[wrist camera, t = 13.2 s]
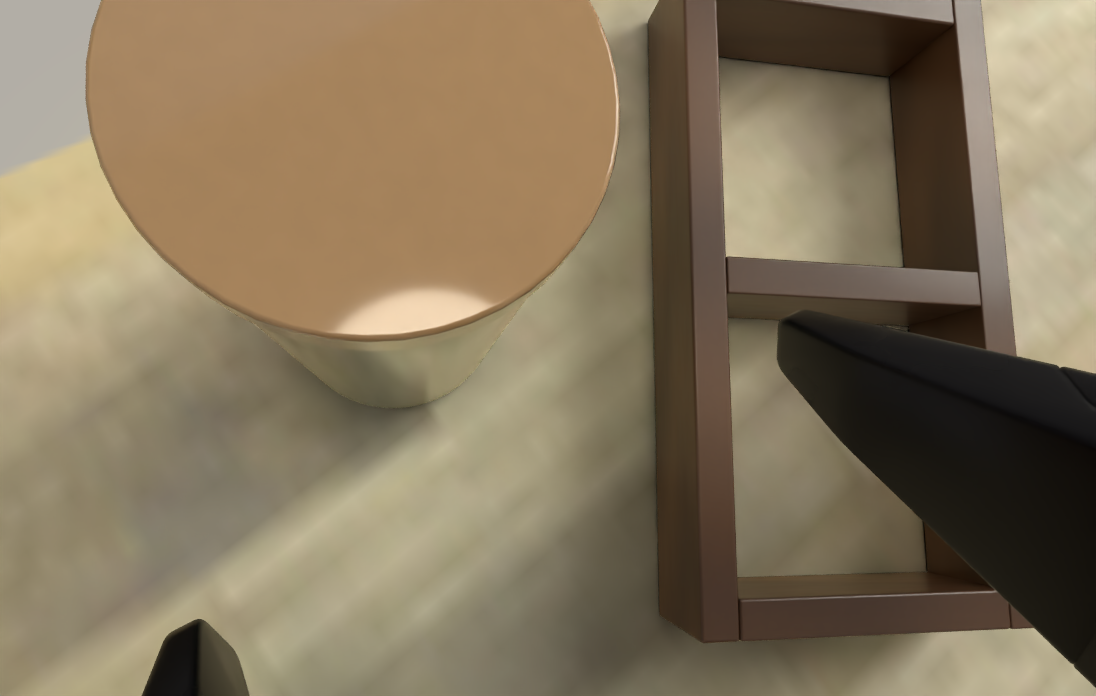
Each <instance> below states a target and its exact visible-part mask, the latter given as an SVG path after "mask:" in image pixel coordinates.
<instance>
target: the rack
mask: <svg viewBox="0 0 1096 696" xmlns="http://www.w3.org/2000/svg"><path fill="white" fill-rule="evenodd" d="M648 37H649V89H650V141H651V194H652V246H653V298H654V350H655V403H656V455H657V507H658V560H659V612H660V616H661V617H663V618H664V619H666V620H667V621H669V622H671V623H672V624H674V625H675V626H677V627H678V628H680V629H681V630H683V631H685V632H686V633H688V634H689V635H691V636H692V637H694V638H696V639H697V640H699V641H700V642H702V643H718V642H736V641H739V640H740V641H762V640H783V639H804V638H825V637H846V636H867V635H888V634H909V633H930V632H951V631H972V630H993V629H1008V628H1011V629H1020V628H1034V627H1033V626H1032V625H1031V624H1030V623H1029V622H1028V621H1027V620H1025V619H1024V618H1023V617H1022V616H1021V615H1020V614H1019V613H1018V612H1017V611H1016V610H1015V609H1014V608H1013V607H1012V606H1011V605H1010V604H1009V603H1008V602H1007V601H1006V600H1005V599H1004V598H1003V597H1002V596H1001V595H1000V594H998V593H997V592H996V591H995V590H994V589H993V588H992V587H991V586H990V585H989V584H988V583H987V582H986V581H985V580H984V579H983V578H982V577H981V576H980V575H979V574H978V573H977V572H976V571H975V570H974V569H973V568H971V567H970V566H969V565H968V564H967V563H966V562H965V561H964V560H963V559H962V558H961V557H960V556H959V555H958V554H957V553H956V552H955V551H954V550H953V549H952V548H951V547H950V546H949V545H948V544H947V543H946V542H944V541H943V540H942V539H941V538H940V537H939V536H938V535H937V534H936V533H935V532H934V531H933V530H932V529H931V528H930V527H929V526H928V525H927V524H926V523H925V522H924V529H925V542H926V555H927V568H928V572H905V573H871V574H837V575H802V576H768V577H737V560H736V532H735V504H734V476H733V449H732V421H731V393H730V365H729V337H728V318H751V319H773V320H782V319H783V318H785V317H786V316H788V315H790V314H792V313H794V312H796V311H798V310H802V309H806V310H812V311H817V312H821V313H825V314H830V315H834V316H839V317H843V318H848V319H852V320H857V321H861V322H866V323H870V324H883V325H905V326H908V325H909V332H910V333H915V334H919V335H924V336H928V337H933V338H937V339H942V340H946V341H951V342H955V343H960V344H964V345H969V346H973V347H977V348H982V349H986V350H991V351H995V352H1000V353H1004V354H1009V355H1013V356H1017V355H1016V345H1015V336H1014V326H1013V316H1012V306H1011V296H1010V286H1009V276H1008V266H1007V256H1006V246H1005V236H1004V226H1003V216H1002V206H1001V196H1000V186H999V176H998V167H997V157H996V147H995V137H994V127H993V117H992V107H991V97H990V87H989V77H988V67H987V57H986V47H985V37H984V27H983V17H982V8H981V0H659V2H658V4H657V5H656V7H655V9H654V11H653V13H652V15H651V16H650V18H649V20H648ZM718 56H721V57H729V58H738V59H746V60H754V61H763V62H771V63H779V64H788V65H796V66H805V67H813V68H821V69H830V70H838V71H846V72H855V73H863V74H871V75H880V76H890V86H891V99H892V112H893V125H894V138H895V151H896V164H897V177H898V190H899V203H900V216H901V229H902V242H903V255H904V268H902V267H886V266H870V265H854V264H838V263H823V262H807V261H791V260H775V259H759V258H743V257H726V254H725V226H724V198H723V170H722V142H721V114H720V87H719V59H718Z"/></svg>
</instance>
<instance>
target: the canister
mask: <svg viewBox="0 0 1096 696" xmlns="http://www.w3.org/2000/svg"><path fill="white" fill-rule="evenodd" d="M86 105H87V112H88V119H89V126H90V133H91V136H92V140H93V143H94V146H95V149H96V153H97V156H98V159H99V162H100V166H101V168H102V170H103V173H104V175H105V177H106V179H107V181H108V183H109V185H110V187H111V189H112V191H113V194H114V196H115V198H116V200H117V201H118V203H119V204H120V206H121V207H122V209H123V210H124V212H125V213H126V215H127V216H128V218H129V219H130V221H131V222H132V224H133V225H134V227H135V228H136V230H137V231H138V232H139V233H140V234H141V236H142V237H143V238H144V239H145V240H146V241H147V242H148V243H149V245H150V246H151V247H152V248H153V249H154V250H155V251H156V252H157V254H158V255H159V256H160V257H161V258H162V259H163V260H164V261H166V262H167V263H168V264H169V265H170V266H171V267H173V268H174V269H175V270H176V271H177V272H178V273H180V274H181V275H182V276H183V277H184V278H185V279H187V280H188V281H189V282H190V283H191V284H193V285H194V286H195V287H196V288H198V289H199V290H200V291H201V292H203V293H204V294H205V295H206V296H208V297H209V298H211V299H212V300H214V301H215V302H217V303H218V304H220V305H221V306H223V307H225V308H226V309H228V310H229V311H231V312H232V313H234V314H235V315H237V316H239V317H241V318H243V319H245V320H247V321H249V322H251V323H253V324H255V325H256V326H257V327H259V328H260V329H261V330H262V331H263V332H265V333H266V334H267V335H268V336H269V337H270V338H272V339H273V340H274V341H275V342H276V343H277V344H279V345H280V346H281V347H282V348H283V349H285V350H286V351H287V352H288V353H289V354H290V355H292V356H293V357H294V358H295V359H296V360H298V361H299V362H300V363H301V364H302V365H303V366H305V367H306V368H307V369H308V370H309V371H311V372H312V373H313V374H314V375H315V376H316V377H318V378H319V379H320V380H321V381H322V382H324V383H325V384H326V385H327V386H328V387H330V388H331V389H333V390H334V391H336V392H337V393H339V394H340V395H342V396H344V397H346V398H348V399H351V400H353V401H355V402H358V403H361V404H365V405H368V406H374V407H379V408H393V409H395V408H408V407H413V406H418V405H422V404H425V403H428V402H431V401H434V400H436V399H438V398H440V397H442V396H444V395H446V394H448V393H449V392H451V391H452V390H454V389H455V388H457V387H458V386H459V385H461V384H462V383H463V382H464V381H465V380H466V379H467V378H468V377H469V376H470V375H471V374H472V373H473V372H474V370H475V369H476V368H477V367H478V365H479V364H480V363H481V361H482V360H483V358H484V357H485V356H486V354H487V353H488V352H489V350H490V349H491V347H492V346H493V345H494V343H495V342H496V341H497V339H498V338H499V336H500V335H501V334H502V332H503V331H504V330H505V328H506V327H507V325H508V324H509V323H510V321H511V320H512V319H513V317H514V316H515V314H516V313H517V312H518V310H519V309H520V308H521V306H522V305H523V303H524V302H525V301H526V299H527V298H528V297H530V296H531V295H532V294H533V293H534V292H535V291H537V290H538V289H539V288H540V287H541V286H542V285H544V284H545V282H546V281H547V280H548V279H549V278H550V277H551V276H552V275H553V273H554V272H555V271H556V270H557V269H558V268H559V267H560V266H561V264H562V263H563V262H564V261H565V260H566V258H567V257H568V256H569V254H570V253H571V252H572V251H573V249H574V248H575V247H576V245H577V244H578V242H579V241H580V239H581V238H582V236H583V235H584V233H585V232H586V230H587V229H588V227H589V226H590V224H591V223H592V221H593V219H594V217H595V215H596V212H597V210H598V208H599V206H600V204H601V202H602V200H603V198H604V196H605V193H606V190H607V187H608V184H609V181H610V178H611V174H612V171H613V168H614V164H615V158H616V152H617V146H618V140H619V124H620V102H619V92H618V83H617V75H616V71H615V67H614V63H613V59H612V54H611V50H610V46H609V44H608V41H607V38H606V36H605V33H604V30H603V28H602V25H601V22H600V20H599V17H598V16H597V14H596V12H595V10H594V8H593V6H592V4H591V2H590V0H101V2H100V5H99V9H98V11H97V14H96V17H95V20H94V23H93V26H92V30H91V35H90V41H89V47H88V53H87V60H86Z"/></svg>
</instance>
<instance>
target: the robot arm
mask: <svg viewBox="0 0 1096 696" xmlns="http://www.w3.org/2000/svg"><path fill="white" fill-rule="evenodd" d="M777 361H778V364H779V367H780V369H781V370H782V372H783V373H784V375H785V376H786V377H787V378H788V379H789V381H790V382H791V383H792V384H793V385H794V387H795V388H796V389H797V390H798V391H799V392H800V394H801V395H802V396H803V397H804V398H805V400H806V401H807V402H808V403H809V404H810V406H811V407H812V408H813V409H814V410H815V412H816V413H817V414H818V415H819V416H820V417H821V419H822V420H823V421H824V422H825V423H826V425H827V426H828V427H829V428H830V429H831V431H832V432H833V433H834V434H835V435H836V436H837V437H838V438H839V440H840V441H841V442H842V443H843V444H844V445H845V446H846V447H847V448H848V449H849V450H850V451H851V452H852V453H853V454H854V455H855V456H856V457H857V458H858V459H859V460H860V461H861V462H862V463H863V464H865V465H866V466H867V467H868V468H869V469H870V470H871V471H872V472H873V473H874V474H875V475H876V476H877V477H878V478H879V479H880V480H881V481H882V482H883V483H884V484H885V485H886V486H887V487H888V488H889V489H890V490H892V491H893V492H894V493H895V494H896V495H897V496H898V497H899V498H900V499H901V500H902V501H903V502H904V503H905V504H906V505H907V506H908V507H909V508H910V509H911V510H912V511H913V512H914V513H915V514H916V515H917V516H919V517H920V518H921V519H922V520H923V521H924V522H925V523H926V524H927V525H928V526H929V527H930V528H931V529H932V530H933V531H934V532H935V533H936V534H937V535H938V536H939V537H940V538H941V539H942V540H943V541H944V542H946V543H947V544H948V545H949V546H950V547H951V548H952V549H953V550H954V551H955V552H956V553H957V554H958V555H959V556H960V557H961V558H962V559H963V560H964V561H965V562H966V563H967V564H968V565H969V566H970V567H971V568H973V569H974V570H975V571H976V572H977V573H978V574H979V575H980V576H981V577H982V578H983V579H984V580H985V581H986V582H987V583H988V584H989V585H990V586H991V587H992V588H993V589H994V590H995V591H996V592H997V593H998V594H1000V595H1001V596H1002V597H1003V598H1004V599H1005V600H1006V601H1007V602H1008V603H1009V604H1010V605H1011V606H1012V607H1013V608H1014V609H1015V610H1016V611H1017V612H1018V613H1019V614H1020V615H1021V616H1022V617H1023V618H1024V619H1025V620H1027V621H1028V622H1029V623H1030V624H1031V625H1032V626H1033V627H1034V628H1035V629H1036V630H1037V631H1038V632H1039V633H1040V634H1041V635H1042V636H1043V637H1044V638H1045V639H1046V640H1047V641H1048V642H1049V643H1050V644H1051V645H1052V646H1054V647H1055V648H1056V649H1057V650H1058V651H1059V652H1060V653H1061V654H1062V655H1063V656H1064V657H1065V658H1066V659H1067V660H1068V661H1069V662H1070V663H1072V664H1074V667H1075V668H1076V669H1077V670H1078V671H1079V672H1080V673H1081V674H1082V675H1083V676H1084V677H1085V678H1086V679H1087V680H1088V681H1089V682H1090V683H1091V684H1092V685H1093V686H1095V687H1096V374H1094V373H1090V372H1085V371H1081V370H1076V369H1072V368H1068V367H1061V368H1059V367H1058V366H1057V365H1054V364H1049V363H1045V362H1040V361H1036V360H1031V359H1027V358H1022V357H1018V356H1013V355H1009V354H1004V353H1000V352H995V351H991V350H986V349H982V348H977V347H973V346H969V345H964V344H960V343H955V342H951V341H946V340H942V339H937V338H933V337H928V336H924V335H919V334H915V333H910V332H906V331H901V330H897V329H893V328H888V327H884V326H879V325H875V324H870V323H866V322H861V321H857V320H852V319H848V318H843V317H839V316H834V315H830V314H825V313H821V312H817V311H812V310H806V309H802V310H798V311H796V312H794V313H792V314H790V315H788V316H786V317H785V318H783V319H782V320H781V321H780V323H779V325H778V340H777ZM142 696H250V695H249V692H248V688H247V685H246V681H245V678H244V674H243V671H242V667H241V664H240V661H239V659H238V656H237V654H236V652H235V651H234V649H233V648H232V647H231V646H230V645H229V644H228V643H227V642H226V641H225V640H224V639H223V638H222V637H221V636H220V635H219V634H218V633H217V632H216V631H215V630H214V629H213V628H212V627H211V626H210V625H209V624H208V623H207V622H206V621H204V620H202V619H197V620H194V621H192V622H190V623H188V624H186V625H184V626H182V627H180V628H178V629H176V630H174V631H172V632H171V633H169V634H168V635H167V637H166V638H165V640H164V641H163V644H162V646H161V649H160V651H159V654H158V656H157V659H156V661H155V664H154V666H153V669H152V671H151V674H150V676H149V679H148V681H147V684H146V686H145V689H144V691H143V694H142Z"/></svg>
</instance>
